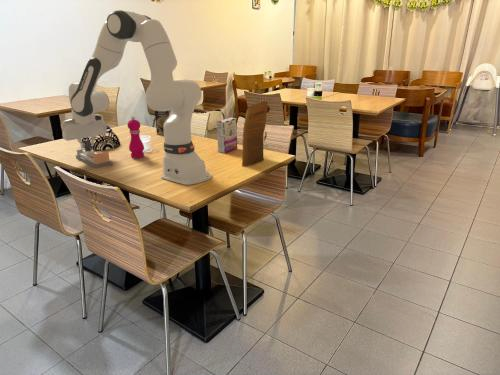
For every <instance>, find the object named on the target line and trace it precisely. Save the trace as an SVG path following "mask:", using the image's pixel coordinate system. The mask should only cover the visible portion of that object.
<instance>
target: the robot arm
mask: <svg viewBox="0 0 500 375" xmlns="http://www.w3.org/2000/svg"><path fill="white" fill-rule="evenodd" d="M129 41H130V42H132V43H140V44H141V47H142V49H143V51H144V55H145V58H146V62H147V65H148V67H149V71H150V72H149V73H150V82H149V85H148V87H147V89H146V91H145V94H144V95H145V102H146V104H147V106H148V107H149V109H151V110H152V111H154V112H155V111H169V110H171V113H170V116H169V118H168V119H167V120H166V121H165V123H164V126H163V127H164V136H163V137H164V142H163V149H164V152H165V153H164V156H163V158H162V174H161V176H160V178H161V179H163V180H167V181H170V182H173V183H177V184H180V185H184V186H188V185H189V186H190V185H195V184H200V183H203V182H206V181H209V180H210V179H212V177H213V175H212V174H211V173H209V172H208V171H207V168H206V164H205V161H204V159H202V158H201V157H200V156H199V155H198V154H197V152H196V151H195V148H196V145H194V143H193V141H192V128H191V127H192V124H191V123H192V118H193V114H194V111H195V109H196V107H197V104H198V103H199V102H200V101H201V99H202V89H201V87H200V85H199V83H198V82H196V81H194V80H187V79H182V80H181V79H180V80H174V77H173V71H174V70H175V69H176V67H177V66H178V60H177V57H176V54H175V52H174V48H173V46H172V44H171V41H170V38H169V36H168V34H167V31H166V30H165V28H164V26H163V25H162V23H161V22H160V21H159V20H156V19H152V18H151V17H149V16H148V15H143V14H139V13H137V12H135V11H129V10H123V9H122V10H121V9H117V10H116V9H115V10H113V11H111V12H109V14H108V15H107V17H106V21H105V22H104V24H103V25H102V27H101V29H100V32H99V35H98V38H97V41H96V45H95V48H94V50H93V52H92V55H91V57H90V58H89V60H88V61H87V63H86V65H85V68H84V69H83V72H82V75H81V78H80V81H79V82H75V83H71V84H70V85H69V86H68V98H69V100H68V101H69V103H70V107H71V116H72V119H68V120H66V119H65V120H63V121H62V122H61V123H60V128H61V132H62V135H61V136H62V139H63V140H64V141H67V142H69V141H75V140H76V141H77V142H78V143H79V145H80V148H81V147H82V148H83V147H85V144H84V143H82V139H83V138H87V137H88V138H89V137H90V138H92V139H91V140H90V144H91V146H92V147H93V145H94V142H95V139H96V138H95V136H96V137H99V136H98V135H101V136H102V135H104V134H105V135H107V134H108V133H107V131H108V129H107V127H106V126H107V123H106V122H105V121H104V115H101V114H98V113H99V112H102V111H105V110H107V109H108V108H109V105H110V98H109V96H108V94H107V92H105V91H103V90H100V89H96V85H97V84H98V81H99V80H100V78H101V77H102V76H104V74H106V73H108V72H109V71H111V70H114V69H115V68H117V67H118V66H119V65H120V63H121V61H122V59H123V57H124V52H125V49H126V45H127V43H128V42H129ZM105 123H106V124H105ZM105 135H104V136H105Z"/></svg>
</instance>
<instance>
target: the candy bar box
mask: <svg viewBox="0 0 500 375" xmlns="http://www.w3.org/2000/svg"><path fill="white" fill-rule="evenodd" d="M237 124H238V122H237V118H235V117H227V118H223V119H220V120H217V121H216V133H217V135H216V136H217V152H218V153H220V154H228V153H229V152H232V151H235V150H237V149H238V129H237V128H238V127H237V126H238V125H237Z"/></svg>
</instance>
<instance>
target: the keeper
mask: <svg viewBox="0 0 500 375" xmlns="http://www.w3.org/2000/svg"><path fill="white" fill-rule="evenodd" d="M83 142H84V144H85V147H84V148H85V150H82V151H83V154H84V155H86V156H88V157H93V154H95V153H96V152H95V151H94V150H95V149H94V150H93V149H92V150H91V144H90V142H91V140H83ZM94 152H95V153H94Z"/></svg>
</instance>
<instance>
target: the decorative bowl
mask: <svg viewBox="0 0 500 375" xmlns="http://www.w3.org/2000/svg"><path fill="white" fill-rule="evenodd" d="M105 124H106V127H107V133H106V134H104V135H98V136H95V141H94V145H93V146H91V149H92V150H94V152H104V151H109V150H113V148H114V149H116V148H118V147H120V146H121V142H120V141H121V140H120V139H119V137H118V135H117V134H116V133H114V131H113V129H112V128H111V127H110V126H109V125H107V123H106V122H105ZM107 134H108V135H107ZM81 139H82V141H81V142H82V143H84V142H83V140H90V141H91V140H92V138H91V137H87V138H81ZM108 141H110V142H108ZM83 148H84V147H83ZM107 148H108V149H107ZM80 149H82V147H81V146H80Z"/></svg>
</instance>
